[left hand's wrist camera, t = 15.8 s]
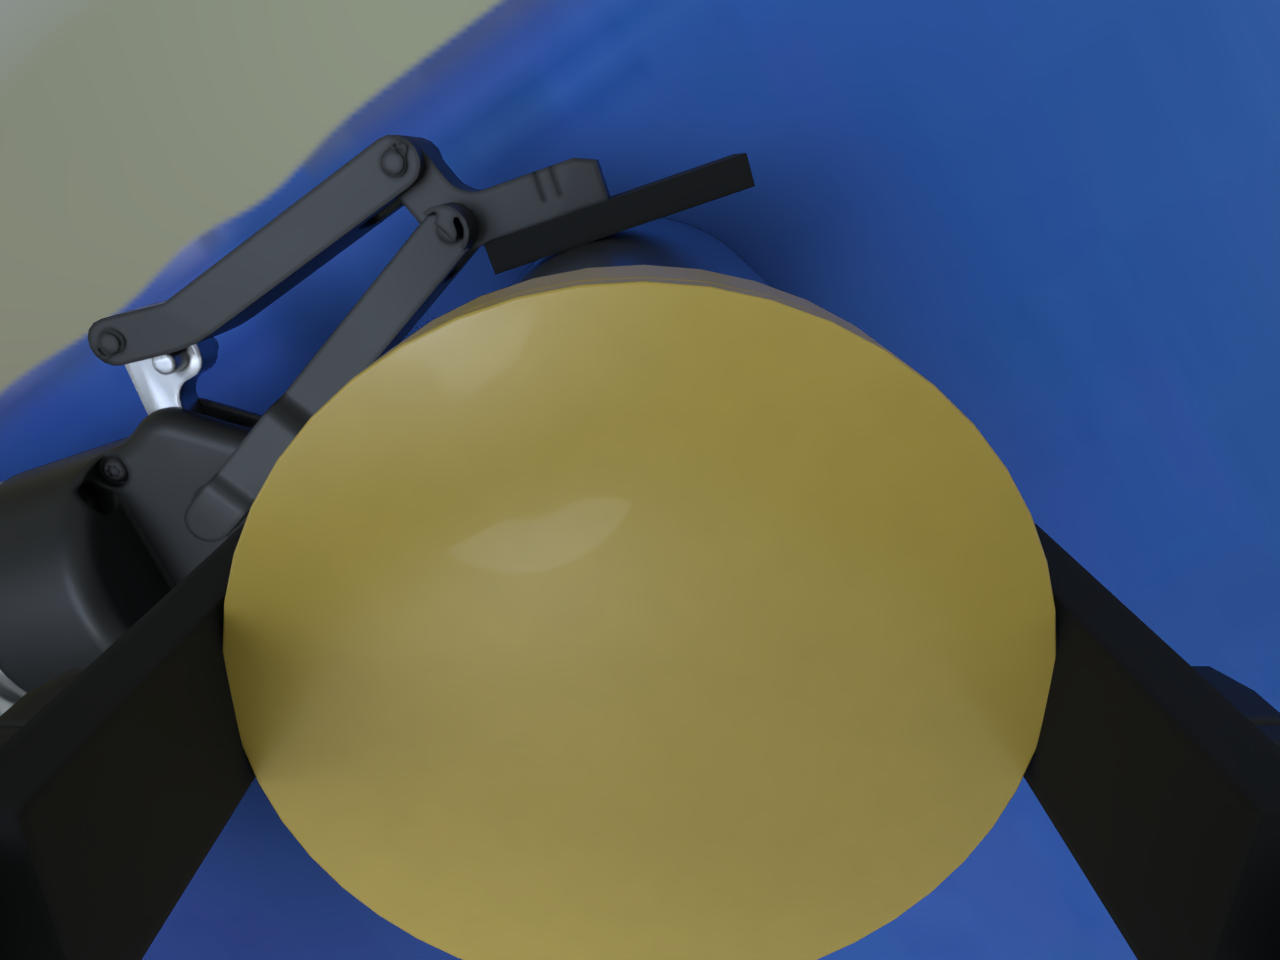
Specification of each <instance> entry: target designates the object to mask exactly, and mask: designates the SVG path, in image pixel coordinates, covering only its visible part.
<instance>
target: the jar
mask: <svg viewBox="0 0 1280 960" xmlns="http://www.w3.org/2000/svg"><path fill="white" fill-rule="evenodd" d="M632 265H653V266H665V267H678V268H691V269H701V270H706V271H711V272H715V273H720V274H725V275H729V276H734V277H739V278H743V279H748V280H752V281H756V282H759V283H762V284H764V285H767V286H769V285H768V284H767V283H766V282H765V281H764V280H763V279H762V278H761V277H760V276H759V275H758V274H757V273H756V272H754V271H753V270H752V269H751V268H750V267H749V266H748V265H747V264H746V263H745V262H744V261H743V260H742V259H741V258H740V257H739V256H738V255H737V254H735V253H734V252H733V251H732V250H731V249H730V248H729V247H728V246H726V245H725V244H723V243H722V242H720V241H719V240H717V239H716V238H714V237H713V236H711V235H710V234H708V233H706V232H704V231H702V230H700V229H697V228H695V227H693V226H690V225H687V224H684V223H681V222H678V221H675V220H670V219H664V218H659V219H657V220H654V221H651V222H648V223H645V224H642V225H639V226H636V227H633V228H630V229H627V230H624V231H621V232H618V233H615V234H613V235H610V236H607V237H604V238H601V239H598V240H595V241H592V242H589V243H586V244H583V245H580V246H577V247H574V248H571V249H569V250H566V251H563V252H560V253H557V254H554V255H551V256H548V257H545V258H542V259H539V260H538V261H536V262H535V263H534V264H533V265H532V266H531V267H530V268H529V269H528V270H527V271H526V272H525V273H524V274H523V275H522V276H521V277H520V278H519V279H518V280H517V281H516V282H515V283H514V284H512V285H515V284H518V283H521V282H524V281H527V280H530V279H533V278H538V277H544V276H549V275H554V274H559V273H564V272H569V271H575V270H580V269H585V268H596V267H614V266H632ZM512 285H511V286H512Z"/></svg>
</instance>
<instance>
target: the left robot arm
mask: <svg viewBox="0 0 1280 960" xmlns="http://www.w3.org/2000/svg"><path fill="white" fill-rule="evenodd" d="M244 524H245V523H244ZM244 524H243V525H242V526H241V527H240V528H238V529H237V530H236V531H235V532H234V533H233V534H232V535H231V536H230V537H229V538H228V539H226V540H225V541H224V542H223V543H222V544H221V545H220V546H219V547H218V548H217V549H216V550H214V551H213V552H212V553H211V554H210V555H209V556H208V557H207V558H206V559H205V560H204V561H202V562H201V563H200V564H199V565H198V566H197V567H196V568H195V569H194V570H193V571H192V572H190V573H189V574H188V575H187V576H186V577H185V578H184V579H183V580H182V581H181V582H180V583H178V584H177V585H176V586H175V587H174V588H173V589H172V590H171V591H170V592H169V593H168V594H166V595H165V596H164V597H163V598H162V599H161V600H160V601H159V602H158V603H157V604H156V605H154V606H153V607H152V608H151V609H150V610H149V611H148V612H147V613H146V614H145V615H144V616H142V617H141V618H140V619H139V620H138V621H137V622H136V623H135V624H134V625H133V626H132V627H131V628H129V629H128V630H127V631H126V632H125V633H124V634H123V635H122V636H121V637H120V638H119V639H117V640H116V641H115V642H114V643H113V644H112V645H111V646H110V647H109V648H108V649H107V650H105V651H104V652H103V653H102V654H101V655H100V656H99V657H98V658H97V659H96V660H95V661H93V662H92V663H91V664H90V665H89V666H88V667H87V668H86V669H70V670H68V671H67V672H65V673H63V674H61V675H59V676H58V677H56V678H54V679H52V680H50V681H48V682H47V683H45V684H43V685H41V686H39V687H38V688H36V689H34V690H32V691H30V692H28V693H27V694H25V695H24V696H23V697H22V698H21V699H19V700H18V701H17V702H16V703H15V704H14V705H12V706H11V707H10V708H9V709H8V710H7V711H6V712H4V713H3V714H2V715H1V716H0V960H141V959H142V958H143V956H144V955H145V953H146V951H147V950H148V948H149V947H150V945H151V943H152V942H153V940H154V939H155V937H156V935H157V934H158V932H159V931H160V929H161V927H162V926H163V924H164V923H165V921H166V919H167V918H168V916H169V915H170V913H171V911H172V910H173V908H174V907H175V905H176V903H177V902H178V900H179V899H180V897H181V895H182V894H183V892H184V890H185V889H186V887H187V886H188V884H189V882H190V881H191V879H192V878H193V876H194V874H195V873H196V871H197V870H198V868H199V866H200V865H201V863H202V862H203V860H204V858H205V857H206V855H207V854H208V852H209V850H210V849H211V847H212V846H213V844H214V842H215V841H216V839H217V838H218V836H219V834H220V833H221V831H222V830H223V828H224V826H225V825H226V823H227V822H228V820H229V818H230V817H231V815H232V813H233V812H234V810H235V809H236V807H237V805H238V804H239V802H240V801H241V799H242V797H243V796H244V794H245V793H246V791H247V789H248V788H249V786H250V785H251V783H252V781H253V780H254V778H255V777H256V776H255V774H254V771H253V769H252V767H251V764H250V762H249V760H248V758H247V755H246V753H245V751H244V748H243V746H242V742H241V738H240V733H239V729H238V724H237V719H236V715H235V710H234V705H233V700H232V696H231V691H230V686H229V681H228V677H227V671H226V666H225V661H224V655H223V622H224V601H225V596H226V591H227V585H228V580H229V575H230V570H231V565H232V560H233V555H234V552H235V549H236V546H237V544H238V541H239V538H240V535H241V533H242V530H243V527H244ZM1034 524H1035V523H1034ZM1035 527H1036V530H1037V533H1038V536H1039V539H1040V542H1041V545H1042V548H1043V551H1044V554H1045V557H1046V560H1047V563H1048V569H1049V575H1050V581H1051V587H1052V593H1053V599H1054V605H1055V611H1056V658H1055V663H1054V668H1053V673H1052V679H1051V684H1050V688H1049V693H1048V698H1047V703H1046V708H1045V712H1044V717H1043V722H1042V726H1041V730H1040V735H1039V739H1038V743H1037V747H1036V750H1035V752H1034V754H1033V756H1032V758H1031V760H1030V763H1029V765H1028V767H1027V769H1026V771H1025V773H1024V775H1023V776H1024V778H1025V779H1026V781H1027V783H1028V784H1029V786H1030V787H1031V789H1032V791H1033V792H1034V794H1035V795H1036V797H1037V799H1038V800H1039V802H1040V803H1041V805H1042V807H1043V808H1044V810H1045V811H1046V813H1047V815H1048V816H1049V818H1050V820H1051V821H1052V823H1053V824H1054V826H1055V828H1056V829H1057V831H1058V832H1059V834H1060V836H1061V837H1062V839H1063V840H1064V842H1065V844H1066V845H1067V847H1068V848H1069V850H1070V852H1071V853H1072V855H1073V856H1074V858H1075V860H1076V861H1077V863H1078V864H1079V866H1080V868H1081V869H1082V871H1083V872H1084V874H1085V876H1086V877H1087V879H1088V880H1089V882H1090V884H1091V885H1092V887H1093V889H1094V890H1095V892H1096V893H1097V895H1098V897H1099V898H1100V900H1101V901H1102V903H1103V905H1104V906H1105V908H1106V909H1107V911H1108V913H1109V914H1110V916H1111V917H1112V919H1113V921H1114V922H1115V924H1116V925H1117V927H1118V929H1119V930H1120V932H1121V933H1122V935H1123V937H1124V938H1125V940H1126V941H1127V943H1128V945H1129V946H1130V948H1131V950H1132V951H1133V953H1134V954H1135V956H1136V958H1137V959H1138V960H1280V713H1279V712H1278V711H1277V710H1276V709H1275V708H1273V707H1272V706H1271V705H1270V704H1269V703H1268V702H1266V701H1265V700H1264V699H1263V698H1262V697H1261V696H1259V695H1258V694H1257V693H1256V692H1255V691H1253V690H1252V689H1250V688H1248V687H1246V686H1244V685H1242V684H1241V683H1239V682H1237V681H1235V680H1233V679H1231V678H1230V677H1228V676H1226V675H1224V674H1222V673H1220V672H1219V671H1217V670H1215V669H1213V668H1211V667H1209V666H1190V665H1189V664H1188V663H1187V662H1186V661H1185V660H1184V659H1182V658H1181V657H1180V656H1179V655H1178V654H1177V653H1176V652H1175V651H1174V650H1173V649H1172V648H1170V647H1169V646H1168V645H1167V644H1166V643H1165V642H1164V641H1163V640H1162V639H1161V638H1160V637H1158V636H1157V635H1156V634H1155V633H1154V632H1153V631H1152V630H1151V629H1150V628H1149V627H1148V626H1146V625H1145V624H1144V623H1143V622H1142V621H1141V620H1140V619H1139V618H1138V617H1137V616H1136V615H1134V614H1133V613H1132V612H1131V611H1130V610H1129V609H1128V608H1127V607H1126V606H1125V605H1124V604H1122V603H1121V602H1120V601H1119V600H1118V599H1117V598H1116V597H1115V596H1114V595H1113V594H1112V593H1110V592H1109V591H1108V590H1107V589H1106V588H1105V587H1104V586H1103V585H1102V584H1101V583H1100V582H1099V581H1097V580H1096V579H1095V578H1094V577H1093V576H1092V575H1091V574H1090V573H1089V572H1088V571H1087V570H1085V569H1084V568H1083V567H1082V566H1081V565H1080V564H1079V563H1078V562H1077V561H1076V560H1075V559H1073V558H1072V557H1071V556H1070V555H1069V554H1068V553H1067V552H1066V551H1065V550H1064V549H1063V548H1061V547H1060V546H1059V545H1058V544H1057V543H1056V542H1055V541H1054V540H1053V539H1052V538H1051V537H1049V536H1048V535H1047V534H1046V533H1045V532H1044V531H1043V530H1042V529H1041V528H1040V527H1039V526H1037V525H1036V524H1035Z"/></svg>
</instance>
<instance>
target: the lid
mask: <svg viewBox="0 0 1280 960" xmlns="http://www.w3.org/2000/svg"><path fill="white" fill-rule="evenodd" d="M223 655H224V661H225V666H226V671H227V677H228V681H229V686H230V691H231V696H232V700H233V705H234V710H235V715H236V719H237V724H238V729H239V733H240V738H241V742H242V746H243V748H244V751H245V753H246V755H247V758H248V760H249V762H250V764H251V767H252V769H253V771H254V774H255V776H256V778H257V780H258V783H259V784H260V786H261V788H262V789H263V791H264V792H265V794H266V796H267V797H268V799H269V801H270V802H271V804H272V805H273V807H274V809H275V810H276V812H277V814H278V815H279V817H280V819H281V820H282V822H283V823H284V824H285V825H286V827H287V828H288V829H289V830H290V832H291V833H292V834H293V835H294V837H295V838H296V839H297V840H298V841H299V843H300V844H301V845H302V846H303V848H304V849H305V850H306V851H307V853H308V854H309V855H310V856H311V857H312V858H313V859H314V860H315V861H316V862H317V863H318V864H319V865H320V866H321V867H322V868H323V869H324V870H325V871H326V872H327V873H328V874H329V875H330V876H331V877H332V878H333V879H334V880H335V881H336V882H337V883H339V884H340V885H341V886H342V887H343V888H344V889H345V890H347V891H348V892H349V893H350V894H352V895H353V896H354V897H356V898H357V899H358V900H360V901H361V902H362V903H363V904H365V905H366V906H367V907H369V908H370V909H371V910H373V911H374V912H375V913H376V914H378V915H379V916H381V917H383V918H384V919H386V920H387V921H389V922H391V923H392V924H394V925H396V926H397V927H399V928H401V929H402V930H404V931H406V932H407V933H409V934H411V935H412V936H414V937H415V938H417V939H419V940H421V941H423V942H426V943H428V944H430V945H432V946H434V947H436V948H438V949H440V950H443V951H445V952H447V953H449V954H451V955H453V956H455V957H457V958H460V959H463V960H817V959H819V958H821V957H824V956H826V955H828V954H830V953H832V952H835V951H837V950H839V949H841V948H843V947H846V946H848V945H850V944H852V943H855V942H856V941H858V940H860V939H862V938H863V937H865V936H867V935H868V934H870V933H872V932H874V931H875V930H877V929H879V928H880V927H882V926H884V925H886V924H887V923H889V922H891V921H892V920H894V919H896V918H897V917H898V916H900V915H901V914H902V913H904V912H905V911H906V910H908V909H909V908H910V907H912V906H913V905H915V904H916V903H917V902H919V901H920V900H921V899H923V898H924V897H925V896H927V895H928V894H929V893H931V892H932V891H933V890H934V889H935V888H936V887H937V886H938V885H939V884H940V883H941V882H943V881H944V880H945V879H946V878H947V877H948V876H949V875H950V874H951V873H952V872H953V871H954V870H955V869H956V868H958V867H959V866H960V865H961V864H962V863H963V862H964V861H965V860H966V858H967V857H968V856H969V855H970V854H971V852H972V851H973V850H974V849H975V848H976V847H977V845H978V844H979V843H980V842H981V841H982V839H983V838H984V837H985V836H986V835H987V833H988V832H989V831H990V830H991V829H992V828H993V826H994V824H995V823H996V821H997V820H998V818H999V817H1000V815H1001V814H1002V812H1003V810H1004V809H1005V807H1006V806H1007V804H1008V803H1009V801H1010V800H1011V798H1012V796H1013V795H1014V793H1015V792H1016V790H1017V788H1018V786H1019V784H1020V782H1021V780H1022V778H1023V775H1024V773H1025V771H1026V769H1027V767H1028V765H1029V763H1030V760H1031V758H1032V756H1033V754H1034V752H1035V750H1036V747H1037V743H1038V739H1039V735H1040V730H1041V726H1042V722H1043V717H1044V712H1045V708H1046V703H1047V698H1048V693H1049V688H1050V684H1051V679H1052V673H1053V668H1054V663H1055V658H1056V611H1055V605H1054V599H1053V593H1052V587H1051V581H1050V575H1049V569H1048V563H1047V560H1046V557H1045V554H1044V551H1043V548H1042V545H1041V542H1040V539H1039V536H1038V533H1037V530H1036V527H1035V524H1034V521H1033V518H1032V515H1031V513H1030V511H1029V509H1028V507H1027V506H1026V504H1025V502H1024V500H1023V498H1022V496H1021V494H1020V492H1019V490H1018V488H1017V487H1016V485H1015V483H1014V481H1013V479H1012V477H1011V475H1010V473H1009V471H1008V470H1007V468H1006V466H1005V465H1004V464H1003V462H1002V461H1001V460H1000V458H999V457H998V456H997V454H996V453H995V452H994V450H993V449H992V448H991V446H990V445H989V444H988V442H987V441H986V440H985V438H984V437H983V436H982V434H981V433H980V432H979V430H978V429H977V428H976V426H975V425H974V424H973V423H972V422H971V421H970V420H969V419H968V418H967V417H966V416H965V415H964V414H963V413H962V412H961V411H960V410H959V409H958V408H957V407H956V406H955V405H954V404H953V403H952V402H951V401H950V400H949V399H948V398H947V397H946V396H945V395H944V394H943V393H942V392H941V391H940V390H939V389H938V388H937V387H936V386H935V385H934V384H932V383H931V382H930V381H928V380H927V379H926V378H924V377H923V376H922V375H920V374H919V373H918V372H917V371H915V370H914V369H913V368H911V367H910V366H909V365H907V364H906V363H905V362H903V361H902V360H901V359H900V358H898V357H897V356H896V355H894V354H893V353H891V352H890V351H889V350H887V349H886V348H885V347H883V346H882V345H881V344H879V343H878V342H876V341H875V340H874V339H872V338H871V337H870V336H868V335H867V334H865V333H864V332H863V331H861V330H860V329H859V328H857V327H856V326H854V325H853V324H851V323H849V322H847V321H845V320H843V319H842V318H840V317H838V316H836V315H834V314H832V313H830V312H828V311H826V310H825V309H823V308H821V307H819V306H817V305H815V304H813V303H811V302H810V301H808V300H806V299H803V298H800V297H797V296H795V295H792V294H789V293H786V292H784V291H781V290H778V289H775V288H773V287H770V286H767V285H764V284H762V283H759V282H756V281H752V280H748V279H743V278H739V277H734V276H729V275H725V274H720V273H715V272H711V271H706V270H701V269H691V268H678V267H665V266H653V265H632V266H614V267H596V268H585V269H580V270H575V271H569V272H564V273H559V274H554V275H549V276H544V277H538V278H533V279H530V280H527V281H524V282H521V283H518V284H515V285H512V286H509V287H507V288H504V289H501V290H498V291H495V292H492V293H489V294H486V295H483V296H480V297H478V298H476V299H474V300H472V301H470V302H468V303H466V304H464V305H462V306H460V307H458V308H456V309H454V310H452V311H450V312H448V313H446V314H444V315H442V316H440V317H438V318H436V319H434V320H432V321H431V322H430V323H428V324H427V325H425V326H424V327H422V328H421V329H419V330H418V331H417V332H415V333H414V334H412V335H411V336H409V337H408V338H407V339H405V340H404V341H402V342H401V343H399V344H398V345H396V346H395V347H394V348H392V349H391V350H389V351H388V352H387V353H385V354H384V355H383V356H381V357H380V358H379V359H377V360H376V361H375V362H373V363H372V364H371V365H369V366H368V367H367V368H365V369H364V370H363V371H362V372H360V373H359V374H357V375H356V376H355V377H354V378H352V379H351V380H350V381H349V382H348V383H347V384H346V385H345V386H344V387H343V388H342V389H340V390H339V391H338V392H337V393H336V394H335V395H334V396H333V397H332V398H331V399H330V400H329V401H328V402H327V403H326V404H324V405H323V406H322V407H321V408H320V409H319V410H318V411H317V412H316V413H315V414H314V415H313V416H312V417H311V418H310V419H309V420H308V421H307V423H306V424H305V425H304V427H303V428H302V429H301V430H300V432H299V433H298V434H297V435H296V437H295V438H294V439H293V441H292V442H291V443H290V444H289V446H288V447H287V448H286V450H285V451H284V452H283V453H282V455H281V456H280V457H279V458H278V460H277V461H276V463H275V465H274V466H273V468H272V470H271V472H270V474H269V475H268V477H267V479H266V481H265V483H264V484H263V486H262V488H261V490H260V491H259V493H258V495H257V497H256V499H255V500H254V502H253V504H252V506H251V508H250V511H249V514H248V516H247V519H246V522H245V524H244V527H243V530H242V533H241V535H240V538H239V541H238V544H237V546H236V549H235V552H234V555H233V560H232V565H231V570H230V575H229V580H228V585H227V591H226V596H225V601H224V622H223Z"/></svg>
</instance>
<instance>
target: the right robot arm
mask: <svg viewBox="0 0 1280 960" xmlns="http://www.w3.org/2000/svg"><path fill="white" fill-rule="evenodd" d="M753 186H755V185H754V181H753V177H752V173H751V170H750V166H749V162H748V158H747V154H746V153H742V154H733V155H730V156H727V157H724V158H721V159H719V160H716V161H713V162H710V163H707V164H704V165H701V166H698V167H695V168H693V169H690V170H687V171H684V172H681V173H678V174H675V175H672V176H669V177H667V178H664V179H661V180H658V181H655V182H652V183H649V184H646V185H643V186H641V187H638V188H635V189H632V190H629V191H626V192H623V193H620V194H617V195H615V196H612V197H610V194H609V191H608V188H607V185H606V182H605V179H604V176H603V172H602V169H601V166H600V163H599V160H594V159H580V158H572V159H569V160H566V161H563V162H561V163H558V164H555V165H552V166H550V167H547V168H544V169H541V170H538V171H535V172H532V173H530V174H527V175H524V176H521V177H518V178H515V179H513V180H510V181H507V182H504V183H501V184H498V185H496V186H493V187H490V188H487V189H484V190H477V189H474V188H471V187H469V186H467V185H466V184H464V183H463V182H462V181H461V180H460V179H459V178H457V176H456V175H455V174H454V173H453V171H452V170H451V169H450V168H449V166H448V165H447V164H446V163H445V162H444V160H443V159H442V156H441V154H440V151H439V149H438V148H437V147H436V146H435V145H434V144H433V143H432V142H431V141H428V140H426V139H424V138H419V137H410V136H401V135H386V136H384V137H382V138H380V139H378V140H376V141H375V142H374V143H372V144H371V145H370V146H369V147H367V148H366V149H365V150H363V151H362V152H361V153H359V154H358V155H357V156H355V157H354V158H353V159H352V160H350V161H349V162H348V163H346V164H345V165H344V166H342V167H341V168H340V169H338V170H337V171H336V172H335V173H333V174H332V175H331V176H329V177H328V178H327V179H325V180H324V181H323V182H321V183H320V184H319V185H318V186H316V187H315V188H314V189H312V190H311V191H310V192H308V193H307V194H306V195H305V196H303V197H302V198H301V199H299V200H298V201H297V202H295V203H294V204H293V205H291V206H290V207H289V208H288V209H286V210H285V211H284V212H282V213H281V214H280V215H278V216H277V217H276V218H274V219H273V220H272V221H271V222H269V223H268V224H267V225H265V226H264V227H263V228H261V229H260V230H259V231H257V232H256V233H255V234H254V235H252V236H251V237H250V238H248V239H247V240H246V241H244V242H243V243H242V244H240V245H239V246H238V247H237V248H235V249H234V250H233V251H231V252H230V253H229V254H227V255H226V256H225V257H224V258H222V259H221V260H220V261H218V262H217V263H216V264H214V265H213V266H212V267H210V268H209V269H208V270H207V271H205V272H204V273H203V274H201V275H200V276H199V277H197V278H196V279H195V280H193V281H192V282H191V283H190V284H188V285H187V286H186V287H184V288H183V289H182V290H180V291H179V292H178V293H176V294H175V295H174V296H173V297H171V298H170V299H169V300H167V301H163V302H159V303H155V304H151V305H148V306H144V307H141V308H137V309H134V310H131V311H127V312H124V313H120V314H117V315H113V316H110V317H107V318H103V319H100V320H98V321H97V322H95V323H93V325H92V326H91V328H90V329H89V333H88V341H89V345H90V348H91V349H92V351H93V352H94V354H95V355H96V356H97V357H98V358H99V359H101V360H102V361H103V362H105V363H108V364H111V365H125V366H126V369H127V371H128V373H129V375H130V377H131V379H132V381H133V384H134V386H135V388H136V390H137V392H138V394H139V397H140V399H141V401H142V403H143V405H144V407H145V409H146V412H147V414H148V416H147V417H145V418H144V419H143V420H142V421H141V423H140V424H139V425H138V427H137V429H136V430H135V431H134V432H133V433H132V434H131V435H130V436H129V437H126V438H123V439H120V440H117V441H114V442H111V443H108V444H105V445H102V446H99V447H96V448H93V449H90V450H87V451H84V452H81V453H78V454H75V455H72V456H69V457H66V458H63V459H61V460H58V461H55V462H52V463H49V464H46V465H43V466H40V467H37V468H34V469H31V470H28V471H25V472H22V473H20V474H17V475H15V476H13V477H11V478H9V479H8V480H6V481H4V482H0V716H1V715H2V714H3V713H4V712H6V711H7V710H8V709H9V708H10V707H11V706H12V705H14V704H15V703H16V702H17V701H18V700H19V699H21V698H22V697H23V696H24V695H25V694H27V693H28V692H30V691H32V690H34V689H36V688H38V687H39V686H41V685H43V684H45V683H47V682H48V681H50V680H52V679H54V678H56V677H58V676H59V675H61V674H63V673H65V672H67V671H68V670H70V669H86V668H87V667H88V666H89V665H90V664H91V663H92V662H93V661H95V660H96V659H97V658H98V657H99V656H100V655H101V654H102V653H103V652H104V651H105V650H107V649H108V648H109V647H110V646H111V645H112V644H113V643H114V642H115V641H116V640H117V639H119V638H120V637H121V636H122V635H123V634H124V633H125V632H126V631H127V630H128V629H129V628H131V627H132V626H133V625H134V624H135V623H136V622H137V621H138V620H139V619H140V618H141V617H142V616H144V615H145V614H146V613H147V612H148V611H149V610H150V609H151V608H152V607H153V606H154V605H156V604H157V603H158V602H159V601H160V600H161V599H162V598H163V597H164V596H165V595H166V594H168V593H169V592H170V591H171V590H172V589H173V588H174V587H175V586H176V585H177V584H178V583H180V582H181V581H182V580H183V579H184V578H185V577H186V576H187V575H188V574H189V573H190V572H192V571H193V570H194V569H195V568H196V567H197V566H198V565H199V564H200V563H201V562H202V561H204V560H205V559H206V558H207V557H208V556H209V555H210V554H211V553H212V552H213V551H214V550H216V549H217V548H218V547H219V546H220V545H221V544H222V543H223V542H224V541H225V540H226V539H228V538H229V537H230V536H231V535H232V534H233V533H234V532H235V531H236V530H237V529H238V528H240V527H241V526H242V525H243V524H244V523H245V522H246V519H247V516H248V514H249V511H250V508H251V506H252V504H253V502H254V500H255V499H256V497H257V495H258V493H259V491H260V490H261V488H262V486H263V484H264V483H265V481H266V479H267V477H268V475H269V474H270V472H271V470H272V468H273V466H274V465H275V463H276V461H277V460H278V458H279V457H280V456H281V455H282V453H283V452H284V451H285V450H286V448H287V447H288V446H289V444H290V443H291V442H292V441H293V439H294V438H295V437H296V435H297V434H298V433H299V432H300V430H301V429H302V428H303V427H304V425H305V424H306V423H307V421H308V420H309V419H310V418H311V417H312V416H313V415H314V414H315V413H316V412H317V411H318V410H319V409H320V408H321V407H322V406H323V405H324V404H326V403H327V402H328V401H329V400H330V399H331V398H332V397H333V396H334V395H335V394H336V393H337V392H338V391H339V390H340V389H342V388H343V387H344V386H345V385H346V384H347V383H348V382H349V381H350V380H351V379H352V378H354V377H355V376H356V375H357V374H359V373H360V372H362V371H363V370H364V369H365V368H367V367H368V366H369V365H371V364H372V363H373V362H375V361H376V360H377V359H379V358H380V357H381V356H383V355H384V354H385V353H387V352H388V351H389V350H391V349H392V348H394V347H395V346H396V345H398V344H399V343H400V342H401V341H402V340H403V338H404V337H405V336H406V335H407V334H408V332H409V331H410V330H411V329H412V328H413V326H414V325H415V324H416V323H417V322H418V320H419V319H420V318H421V317H422V316H423V315H424V313H425V312H426V311H427V310H428V309H429V307H430V306H431V305H432V304H433V303H434V301H435V300H436V299H437V298H438V297H439V295H440V294H441V293H442V292H443V291H444V289H445V288H446V287H447V286H448V285H449V283H450V282H451V281H452V280H453V279H454V277H455V276H456V275H457V274H458V273H459V271H460V270H461V269H462V268H463V267H464V265H465V264H466V263H467V262H468V261H469V259H470V258H471V257H472V256H473V255H474V253H475V252H476V251H477V250H478V249H479V247H480V246H482V245H484V246H485V248H486V251H487V253H488V256H489V259H490V261H491V264H492V267H493V269H494V272H495V274H498V273H501V272H504V271H507V270H510V269H513V268H516V267H519V266H522V265H525V264H527V263H530V262H533V261H536V260H539V259H542V258H545V257H548V256H551V255H554V254H557V253H560V252H563V251H566V250H569V249H571V248H574V247H577V246H580V245H583V244H586V243H589V242H592V241H595V240H598V239H601V238H604V237H607V236H610V235H613V234H615V233H618V232H621V231H624V230H627V229H630V228H633V227H636V226H639V225H642V224H645V223H648V222H651V221H654V220H657V219H659V218H662V217H665V216H668V215H671V214H674V213H677V212H680V211H683V210H686V209H689V208H692V207H695V206H698V205H701V204H703V203H706V202H709V201H712V200H715V199H718V198H721V197H724V196H727V195H730V194H733V193H736V192H739V191H742V190H745V189H747V188H750V187H753ZM404 205H405V206H406V208H407V209H408V210H409V211H410V212H411V214H412V215H413V216H414V217H415V218H416V220H417V221H418V222H419V223H420V225H419V226H418V227H417V229H416V230H415V231H414V232H413V234H412V235H411V236H410V237H409V239H408V240H407V241H406V242H405V244H404V245H403V246H402V247H401V249H400V250H399V251H398V252H397V254H396V255H395V256H394V257H393V259H392V260H391V261H390V262H389V264H388V265H387V266H386V267H385V269H384V270H383V271H382V272H381V274H380V275H379V276H378V277H377V279H376V280H375V281H374V282H373V284H372V285H371V286H370V287H369V289H368V290H367V291H366V292H365V294H364V295H363V296H362V297H361V298H360V300H359V301H358V302H357V303H356V305H355V306H354V307H353V308H352V310H351V311H350V312H349V313H348V315H347V316H346V317H345V318H344V320H343V321H342V322H341V323H340V325H339V326H338V327H337V328H336V330H335V331H334V332H333V333H332V335H331V336H330V337H329V338H328V340H327V341H326V342H325V343H324V345H323V346H322V347H321V348H320V350H319V351H318V352H317V353H316V355H315V356H314V357H313V358H312V360H311V361H310V362H309V363H308V365H307V366H306V367H305V368H304V370H303V371H302V372H301V373H300V375H299V376H298V377H297V378H296V380H295V381H294V382H293V383H292V385H291V386H290V387H289V388H288V389H287V391H286V392H285V393H284V394H283V395H282V396H281V397H280V398H279V399H278V400H277V401H276V402H275V403H274V404H273V405H272V406H271V407H270V408H269V409H268V410H267V411H266V412H265V414H264V415H263V416H262V415H259V414H255V413H252V412H248V411H245V410H242V409H238V408H235V407H232V406H228V405H225V404H221V403H218V402H215V401H211V400H208V399H204V398H198V396H197V392H196V382H197V379H198V377H199V376H200V375H201V374H202V373H203V372H205V371H207V370H208V369H210V368H211V367H212V366H213V365H214V364H215V363H216V360H217V351H218V347H219V346H218V342H217V340H216V339H215V338H214V336H216V335H219V334H221V333H224V332H226V331H228V330H231V329H233V328H235V327H237V326H239V325H241V324H243V323H244V322H246V321H247V320H249V319H251V318H252V317H254V316H255V315H256V314H258V313H259V312H260V311H262V310H263V309H265V308H266V307H267V306H269V305H270V304H271V303H273V302H274V301H275V300H277V299H278V298H279V297H281V296H282V295H283V294H285V293H286V292H288V291H289V290H290V289H292V288H293V287H294V286H296V285H297V284H298V283H300V282H301V281H302V280H304V279H305V278H306V277H308V276H309V275H311V274H312V273H313V272H315V271H316V270H317V269H319V268H320V267H321V266H323V265H324V264H325V263H327V262H328V261H329V260H331V259H332V258H334V257H335V256H336V255H338V254H339V253H340V252H342V251H343V250H344V249H346V248H347V247H348V246H350V245H351V244H352V243H354V242H355V241H356V240H358V239H359V238H361V237H362V236H363V235H365V234H366V233H367V232H369V231H370V230H371V229H373V228H374V227H375V226H377V225H378V224H379V223H381V222H382V221H384V220H385V219H386V218H388V217H389V216H390V215H392V214H393V213H394V212H396V211H397V210H398V209H400V208H401V207H402V206H404Z"/></svg>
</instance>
